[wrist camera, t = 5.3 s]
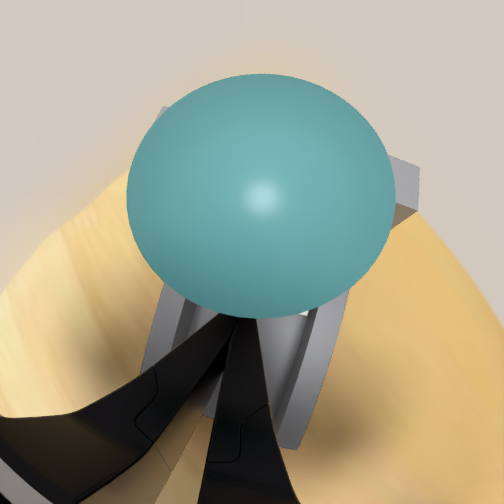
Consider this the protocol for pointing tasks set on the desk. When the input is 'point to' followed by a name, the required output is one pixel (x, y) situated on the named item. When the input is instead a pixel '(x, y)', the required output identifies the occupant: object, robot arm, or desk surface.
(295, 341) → the mount
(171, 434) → the robot arm
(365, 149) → the teal-lidded white jar
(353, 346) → the desk surface
